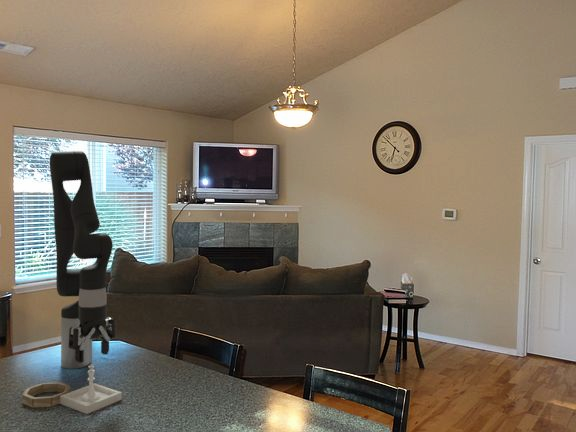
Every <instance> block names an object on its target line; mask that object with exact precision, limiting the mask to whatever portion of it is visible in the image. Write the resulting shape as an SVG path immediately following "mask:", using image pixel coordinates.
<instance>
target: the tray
mask: <svg viewBox="0 0 576 432" xmlns="http://www.w3.org/2000/svg"><path fill="white" fill-rule="evenodd" d="M93 385H94V391H95V392H97V393H99V394H100V398H99V399H98V400H95V401H84V400H82V396H83V395H84V394H86V393H87V392H88V390H89V385H86V386H82V387H80V388H78V389H76V390H72V391H70V392H69V393H67V394H64V395H61V396H60V405H63V406H65V407H68V408H69V409H73V410H76V411H79V412H81V413H83V414H86V415H87V414H90V413H92V412H95V411H98V410H100V409H103V408H105V407H107V406H110V405H112V404H114V403H117V402H120V401H122V398H123V396H122V394H123V393H122V391H120V390H116V389H112V388H109V387H107V386H104V385H101V384H98V383H96V382H93Z"/></svg>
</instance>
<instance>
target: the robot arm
mask: <svg viewBox="0 0 576 432" xmlns="http://www.w3.org/2000/svg"><path fill="white" fill-rule="evenodd" d="M49 171H50V179H51V188H52V196H53V223H54V225H53V226H54V239H55V250H56V251H55V252H56V275H55V276H56V277H55V278H56V279H55V280H56V281H55V282H56V292H57V294H58V295H59V296H60V297H78V300H77V301H75V302H74V303H71V304H68V305H65V306H63V307H62V308H61V312H60V316H61V317H60V318H61V321H60V324H61V325H60V327H61V328H60V331H61V333H60V335H61V336H60V337H61V339H60V342H61V343H60V365H61V367H62V368H63V369H68V370H69V369H70V370H71V369H72V370H73V369H81V368H84V367H87V366H90V364H93V363H92V362H93V339H94V338H99V339H101V342H100V343H101V344H100V348H101V349H100V353H101V354H102V355H108V354H109V351H110V342H111V340H112V339H114V338H116V328H115V327H116V326H115V325H116V324H115V318H112V317H109V316H107V300H108V299H107V297H108V294H107V289H106V288H107V287H106V283H107V279H106V278H107V275H106V274H107V269H108V264H109V262H110V258H111V255H112V253H113V252H112V251H113V240H112V238H111V236H110V235H109V234H107V233H104V232H102V233H95V232H97V231H98V230H99V229H100V226H101V225H100V223H101V222H100V219H99V215H98V211H97V208H96V204H95V199H94V192H93V191H94V190H93V183H92V177H91V168H90V163H89V159H88V156H87V154H86V153H85V152H84V151H81V150H69V151H67V150H65V151H64V150H63V151H54V152H52V153H51V154H50V156H49ZM70 181H80V185H79V187H78V190H77V191H76V194H75V195H74V196H73V199H72V198H71V197H70V196H69V194H68V193H67V191H66V189H65V187H64V182H70ZM73 255H74V256H75V257H77V258H78V259H79V260H92V259H96V261H95V262H94V263H92V264H90V265H87V266H84V267H82V268H78V269H77V268H75V269H74V268H72V269H68V265H69V262H70V260H71V258H72V257H73Z"/></svg>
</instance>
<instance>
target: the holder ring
mask: <svg viewBox="0 0 576 432" xmlns="http://www.w3.org/2000/svg"><path fill="white" fill-rule="evenodd" d="M54 392H55V393H56V392H59V393H57V394H54V395H52V396H37V395H40V394H42V393H54ZM69 392H71V385H69V384H66V383H64V382H60V381H58V382H56V381H55V382H43V383H38V384H34V385H32V386H29V387H27V388H26V389H25V390H24V392H23V393H22V404H23V405H26V406H28V407H30V408H46V407H54V406H57V405H59V404H60V396H61V395H64V394H67V393H69ZM35 396H37V397H35ZM60 405H61V404H60Z"/></svg>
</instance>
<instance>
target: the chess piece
mask: <svg viewBox="0 0 576 432" xmlns="http://www.w3.org/2000/svg"><path fill="white" fill-rule="evenodd" d="M87 366H88V367H87V368H89V370H87V374H88V378H87V381H89V382H88V383H89V384H88V386H89V390H88V392H87V393H86V394H84V395H83V396H82V400H84V401H95V400H98V399H99V398H100V394H99V393H97V392H95V391H94V385H93V384H94V381H95V380H96V377H94V376H95V372H96V370H95V366H94V365H93V363H90V364H89V365H87Z"/></svg>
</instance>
